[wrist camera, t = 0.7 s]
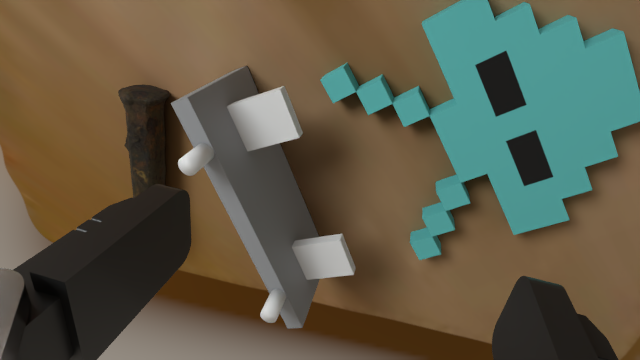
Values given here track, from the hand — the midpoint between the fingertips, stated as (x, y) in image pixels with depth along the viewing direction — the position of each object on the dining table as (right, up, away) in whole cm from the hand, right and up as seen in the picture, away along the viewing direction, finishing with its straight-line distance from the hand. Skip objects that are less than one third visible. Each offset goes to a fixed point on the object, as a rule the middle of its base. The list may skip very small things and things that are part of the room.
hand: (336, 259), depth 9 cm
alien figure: (+13, +7, +23) cm, 28 cm away
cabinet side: (-2, +3, +29) cm, 29 cm away
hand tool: (-18, +4, +34) cm, 38 cm away
